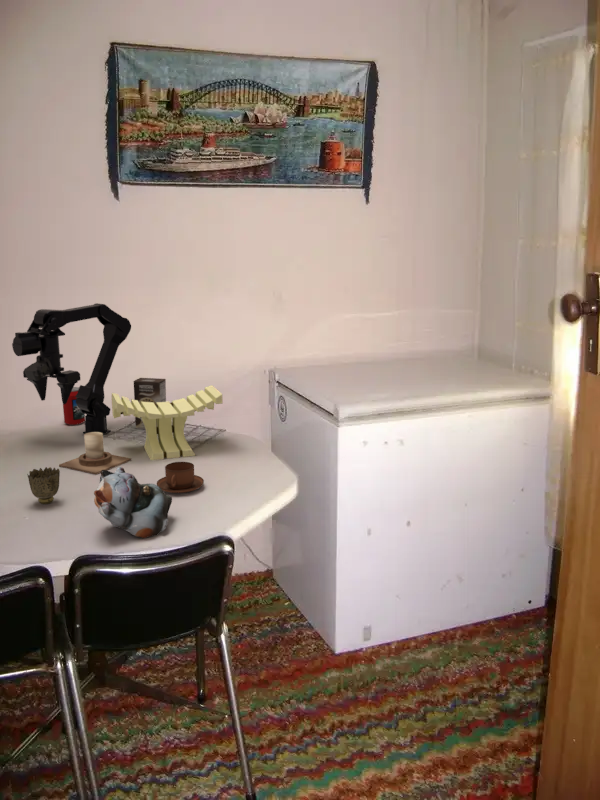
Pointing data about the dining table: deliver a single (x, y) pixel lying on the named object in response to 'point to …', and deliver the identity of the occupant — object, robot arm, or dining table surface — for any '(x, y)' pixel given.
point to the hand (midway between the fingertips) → (53, 402)
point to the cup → (44, 484)
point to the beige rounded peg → (94, 445)
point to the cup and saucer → (180, 478)
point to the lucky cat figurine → (132, 503)
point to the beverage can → (73, 410)
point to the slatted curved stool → (166, 420)
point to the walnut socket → (95, 463)
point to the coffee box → (149, 394)
